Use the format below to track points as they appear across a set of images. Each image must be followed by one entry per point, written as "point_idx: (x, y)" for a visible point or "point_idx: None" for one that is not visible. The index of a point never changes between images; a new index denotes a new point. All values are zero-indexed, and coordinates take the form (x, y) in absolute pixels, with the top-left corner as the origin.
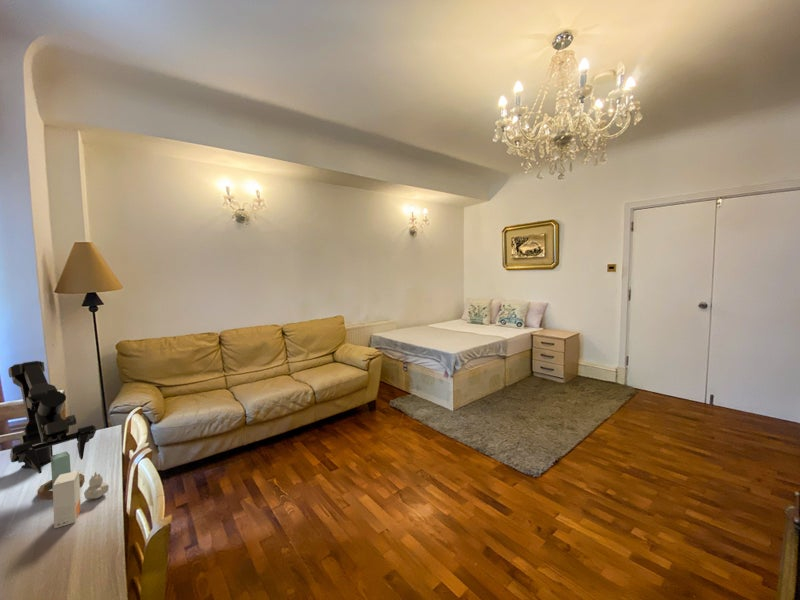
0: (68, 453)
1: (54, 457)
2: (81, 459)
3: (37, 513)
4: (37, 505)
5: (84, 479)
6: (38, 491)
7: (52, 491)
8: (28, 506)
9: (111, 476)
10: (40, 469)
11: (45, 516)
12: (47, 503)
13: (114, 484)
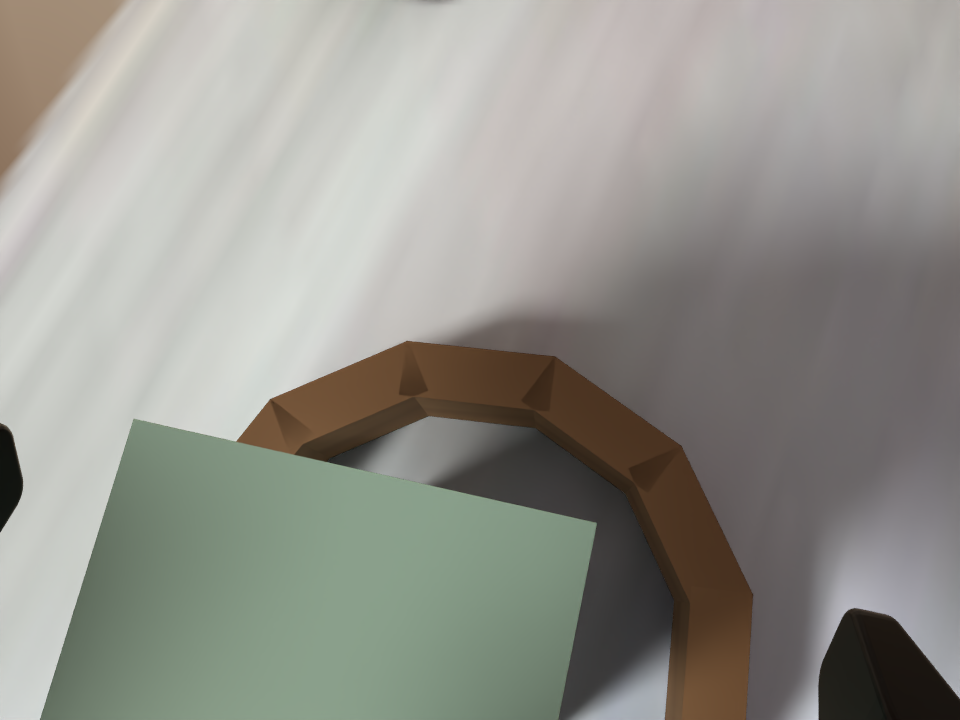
0: (93, 571)
1: (488, 718)
2: (12, 476)
3: (891, 220)
4: (818, 449)
5: None
6: (743, 714)
7: (646, 449)
8: (890, 550)
9: (8, 294)
10: (888, 647)
11: (866, 53)
12: (732, 370)
13: (143, 37)
